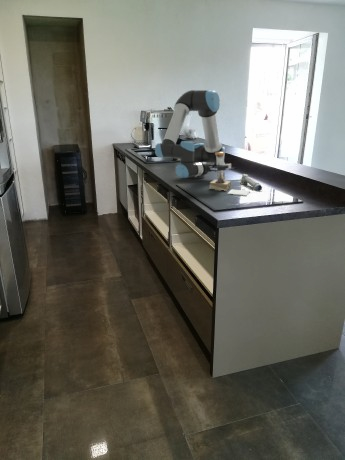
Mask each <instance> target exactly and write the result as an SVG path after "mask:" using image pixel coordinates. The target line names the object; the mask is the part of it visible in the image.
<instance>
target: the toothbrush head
mask: <svg viewBox="0 0 345 460" xmlns="http://www.w3.org/2000/svg"><path fill="white" fill-rule="evenodd" d="M241 183H242V184H243V185H248V184H249V185H250V187H252V189H253V190H254V191H259V192H261V191H263V190H262V189H263V186H262V185H261V184H260V182H257V181H255V180H254V179H252V178H251V177H249V174H247V173H246V174H245V173H243V174H242V176H241V177H240V184H241Z"/></svg>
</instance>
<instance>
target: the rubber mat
mask: <svg viewBox="0 0 345 460" xmlns="http://www.w3.org/2000/svg"><path fill="white" fill-rule="evenodd" d="M250 192H251V191H250V190H240V189H233V188H232V189H231V188H230V189H229V191H228V192H227V195H230V194H233V196H240V195H243V197H247V196H249V194H250Z"/></svg>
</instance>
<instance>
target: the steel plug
mask: <svg viewBox="0 0 345 460" xmlns="http://www.w3.org/2000/svg"><path fill="white" fill-rule="evenodd" d="M225 154H226V153H225ZM225 154H224V152H216V153H215V156H216V160H217V165H223V164H224V163H225V156H224V155H225ZM225 173H226V172H225V170H224V171H223V170H221V171H216V177H217V179H216V180H218V183H224V182H225V181H226V177H225V176H226V175H225Z"/></svg>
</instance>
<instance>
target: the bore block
mask: <svg viewBox="0 0 345 460" xmlns="http://www.w3.org/2000/svg"><path fill="white" fill-rule="evenodd" d="M231 183H232V182H231V181H230V180H225V182H224V183H218V179H212V181H210V182H209V190H210V189H215V190H214V191H221V190H224V191H225V192H227V191H228V190H230V189H231ZM224 191H223V192H224Z"/></svg>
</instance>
